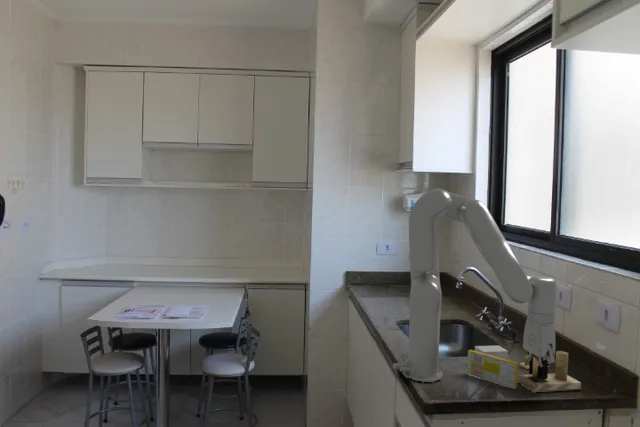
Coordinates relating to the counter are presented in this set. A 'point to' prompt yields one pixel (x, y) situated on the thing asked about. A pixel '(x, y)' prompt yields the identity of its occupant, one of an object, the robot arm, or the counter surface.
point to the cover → (493, 351)
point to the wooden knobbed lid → (526, 364)
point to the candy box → (492, 368)
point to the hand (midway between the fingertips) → (538, 375)
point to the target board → (553, 377)
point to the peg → (534, 370)
